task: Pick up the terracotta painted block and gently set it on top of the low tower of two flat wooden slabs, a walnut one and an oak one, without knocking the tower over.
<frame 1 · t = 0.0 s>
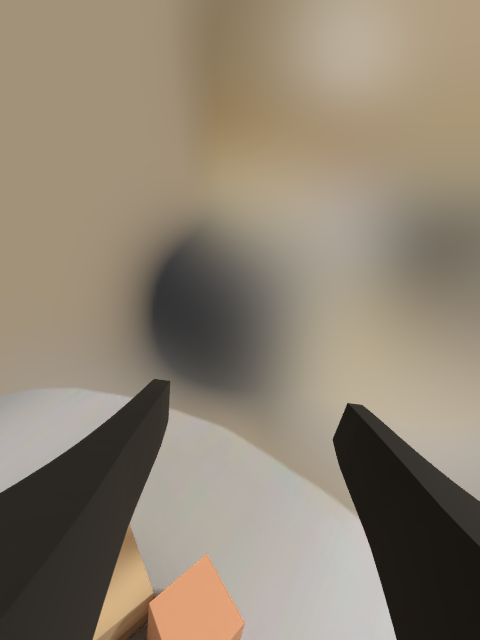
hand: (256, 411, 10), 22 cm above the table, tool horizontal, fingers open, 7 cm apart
tower top: (79, 592, 18), point 1 cm above the table, touching tower base
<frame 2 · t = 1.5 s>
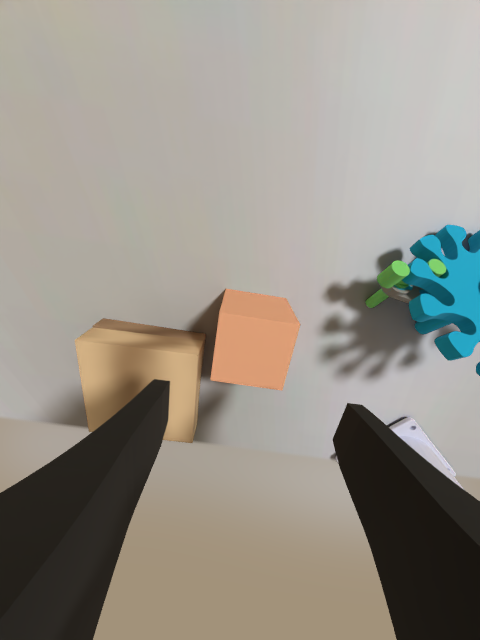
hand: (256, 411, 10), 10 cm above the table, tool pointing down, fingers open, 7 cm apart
block: (250, 321, 19), on the table
tower base: (156, 365, 21), on the table, touching tower top
tower top: (149, 379, 19), point 1 cm above the table, touching tower base
gear: (430, 280, 18), on the table
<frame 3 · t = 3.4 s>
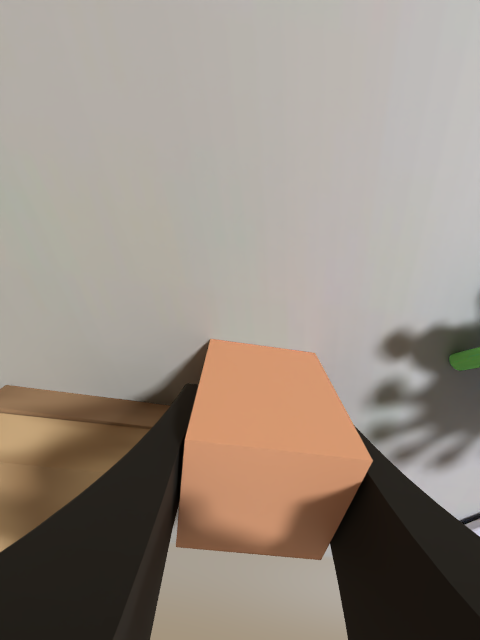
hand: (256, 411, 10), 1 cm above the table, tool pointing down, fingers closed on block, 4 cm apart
block: (254, 388, 11), on the table, touching gripper
tower base: (106, 444, 14), on the table, touching tower top
tower top: (86, 482, 12), point 1 cm above the table, touching tower base
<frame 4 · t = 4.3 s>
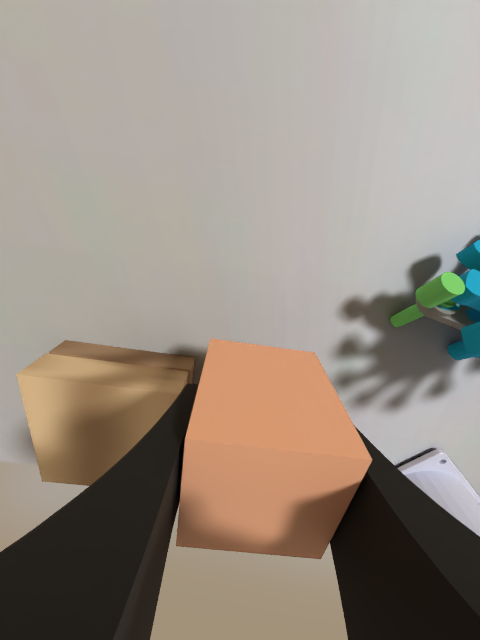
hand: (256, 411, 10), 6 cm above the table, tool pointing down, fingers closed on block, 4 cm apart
block: (254, 388, 11), point 4 cm above the table, touching gripper
tower base: (135, 393, 17), on the table, touching tower top
tower top: (120, 415, 16), point 1 cm above the table, touching tower base
gear: (471, 294, 14), on the table
when the fingers open (6 cm above the table, at t = 6.6 s): block drops 2 cm, resting on tower top.
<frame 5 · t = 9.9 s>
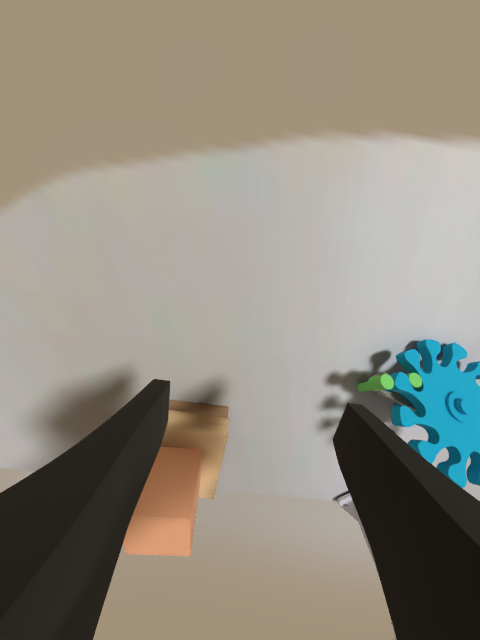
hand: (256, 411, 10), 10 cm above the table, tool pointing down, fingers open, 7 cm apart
block: (174, 466, 21), point 3 cm above the table, touching tower top
tower base: (184, 427, 24), on the table, touching tower top
tower top: (179, 444, 23), point 1 cm above the table, touching block, tower base
gear: (410, 372, 21), on the table
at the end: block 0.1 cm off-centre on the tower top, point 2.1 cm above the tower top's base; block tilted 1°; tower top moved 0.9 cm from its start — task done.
